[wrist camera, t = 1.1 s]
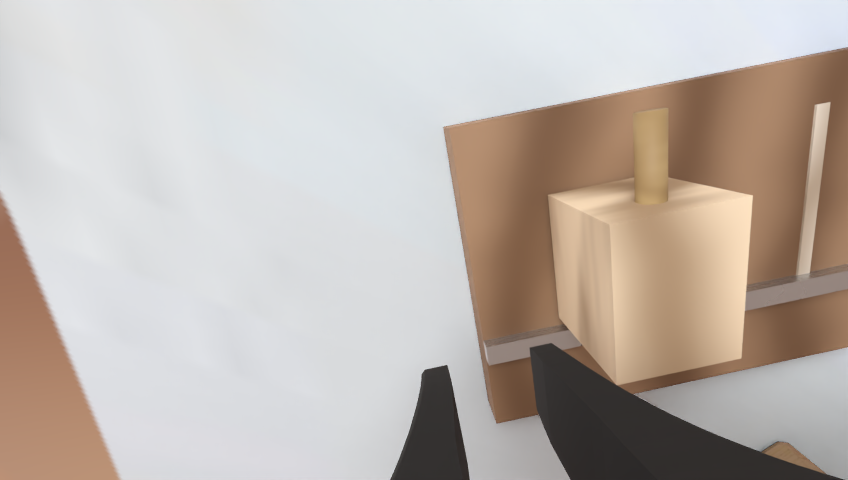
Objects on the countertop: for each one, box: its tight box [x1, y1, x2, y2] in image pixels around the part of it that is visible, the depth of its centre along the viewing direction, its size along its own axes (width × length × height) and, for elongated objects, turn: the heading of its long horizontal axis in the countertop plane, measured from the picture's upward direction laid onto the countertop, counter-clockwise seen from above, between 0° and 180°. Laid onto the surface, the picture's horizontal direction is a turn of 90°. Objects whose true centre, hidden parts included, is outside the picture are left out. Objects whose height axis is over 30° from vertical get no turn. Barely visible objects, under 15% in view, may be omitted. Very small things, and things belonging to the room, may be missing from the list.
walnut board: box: [443, 47, 848, 423], centre depth 19 cm, size 20×15×2 cm
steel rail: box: [483, 264, 848, 366], centre depth 19 cm, size 20×1×1 cm, turn 100°
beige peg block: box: [548, 108, 753, 385], centre depth 15 cm, size 5×9×5 cm, turn 11°
